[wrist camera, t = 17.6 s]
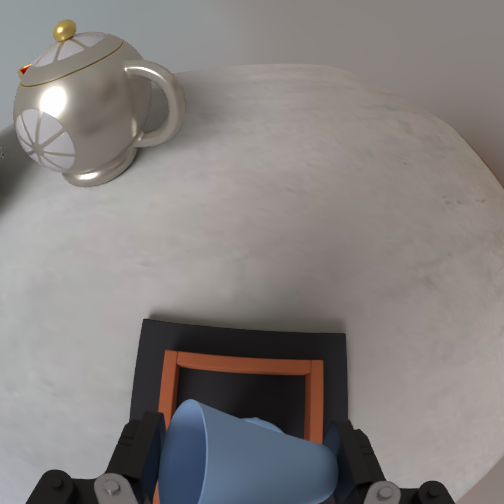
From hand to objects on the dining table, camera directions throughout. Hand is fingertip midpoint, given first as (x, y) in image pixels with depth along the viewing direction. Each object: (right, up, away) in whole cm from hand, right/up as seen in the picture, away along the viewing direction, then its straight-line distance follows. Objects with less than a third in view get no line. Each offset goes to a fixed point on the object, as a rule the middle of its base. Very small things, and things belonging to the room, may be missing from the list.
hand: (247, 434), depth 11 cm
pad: (-1, -5, +5) cm, 7 cm away
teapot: (-14, +17, +17) cm, 28 cm away
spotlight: (0, -4, +4) cm, 5 cm away
